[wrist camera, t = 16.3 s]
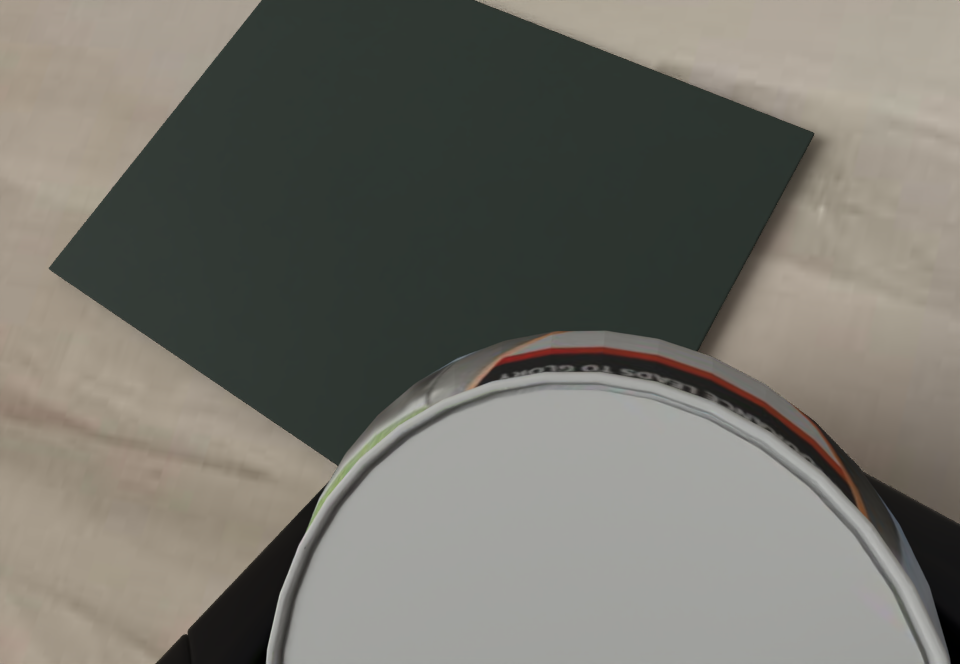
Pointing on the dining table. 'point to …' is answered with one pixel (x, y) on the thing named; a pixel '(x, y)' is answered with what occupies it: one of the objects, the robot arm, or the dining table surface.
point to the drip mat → (421, 204)
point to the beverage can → (600, 524)
